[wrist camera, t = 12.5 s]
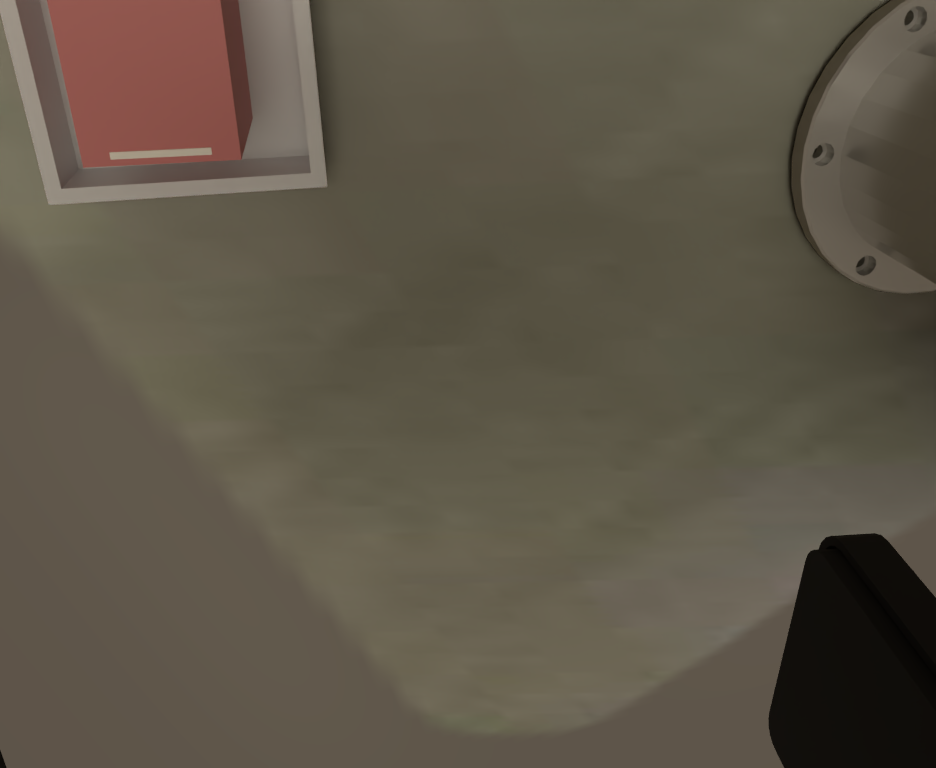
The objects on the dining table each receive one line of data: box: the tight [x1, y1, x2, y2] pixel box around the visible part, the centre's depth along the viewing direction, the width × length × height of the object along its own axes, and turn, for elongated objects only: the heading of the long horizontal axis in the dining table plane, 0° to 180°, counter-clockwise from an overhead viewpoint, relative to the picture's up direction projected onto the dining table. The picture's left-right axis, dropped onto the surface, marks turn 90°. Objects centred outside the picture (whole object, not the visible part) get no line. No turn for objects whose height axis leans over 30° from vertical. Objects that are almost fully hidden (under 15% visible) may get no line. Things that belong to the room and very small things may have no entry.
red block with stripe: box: [47, 0, 253, 168], centre depth 26 cm, size 4×7×6 cm, turn 1°
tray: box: [0, 0, 327, 205], centre depth 28 cm, size 9×11×3 cm
